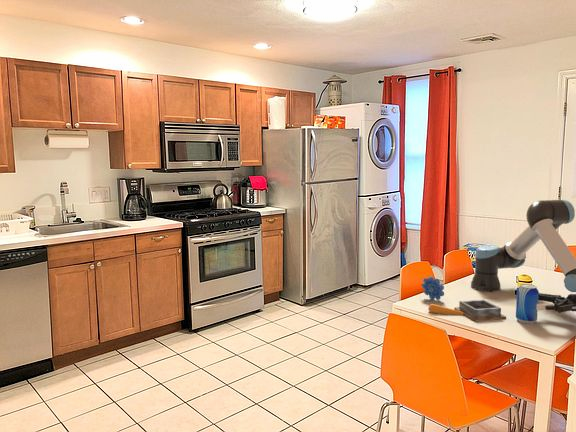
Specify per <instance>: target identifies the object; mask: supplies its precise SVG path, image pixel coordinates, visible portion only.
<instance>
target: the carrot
mask: <svg viewBox="0 0 576 432" xmlns="http://www.w3.org/2000/svg"><path fill="white" fill-rule="evenodd" d="M428 311H429V313H430V314H438V313H440V314H439V315H453V316H454V315H455V316H464V314H463V312H460V311H457V310H454V308H453V309H452V308H449V307H447V306H446V307H445V306H443V305H438V304H435V303H430V304H429V305H428Z"/></svg>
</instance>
